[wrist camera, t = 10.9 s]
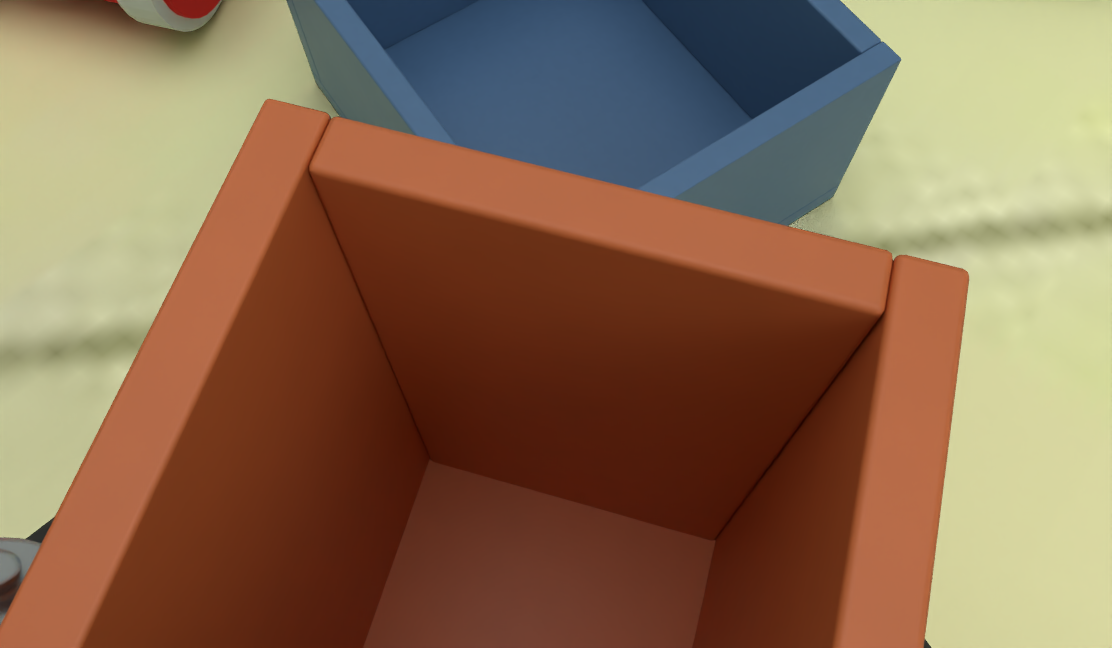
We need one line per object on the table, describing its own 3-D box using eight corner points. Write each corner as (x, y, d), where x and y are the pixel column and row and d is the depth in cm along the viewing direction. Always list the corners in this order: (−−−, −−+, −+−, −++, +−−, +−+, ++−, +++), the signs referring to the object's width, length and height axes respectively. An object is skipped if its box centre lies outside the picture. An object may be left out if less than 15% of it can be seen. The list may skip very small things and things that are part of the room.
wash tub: (315, 82, 36) (259, -73, 29) (592, -62, 38) (600, -232, 32) (534, 387, 31) (528, 286, 24) (833, 196, 34) (902, 58, 27)
